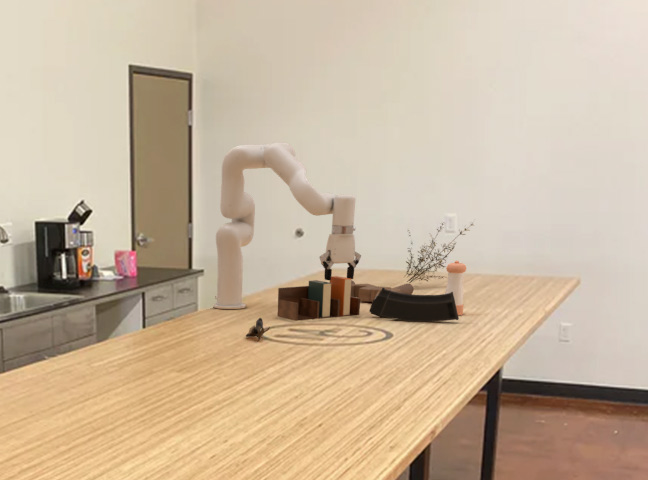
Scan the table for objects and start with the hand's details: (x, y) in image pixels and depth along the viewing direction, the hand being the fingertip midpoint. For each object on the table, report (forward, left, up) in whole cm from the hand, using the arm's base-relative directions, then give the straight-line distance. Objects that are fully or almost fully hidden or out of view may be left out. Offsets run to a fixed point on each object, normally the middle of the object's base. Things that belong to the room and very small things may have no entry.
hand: (338, 279), depth 383 cm
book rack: (0, -8, -13) cm, 16 cm away
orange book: (+1, 0, -12) cm, 12 cm away
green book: (0, -8, -12) cm, 15 cm away
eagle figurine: (+28, -51, -13) cm, 60 cm away
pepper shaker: (+16, +40, -13) cm, 45 cm away
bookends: (-35, +39, -13) cm, 53 cm away
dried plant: (-55, +87, -13) cm, 103 cm away
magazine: (+22, +17, -13) cm, 31 cm away
